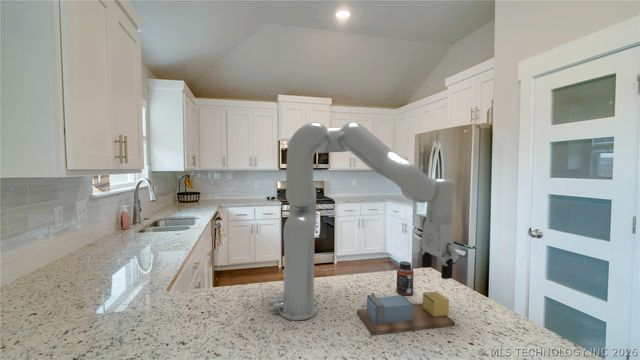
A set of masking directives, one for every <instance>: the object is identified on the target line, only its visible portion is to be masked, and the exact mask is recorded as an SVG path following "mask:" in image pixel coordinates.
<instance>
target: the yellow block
mask: <svg viewBox="0 0 640 360" xmlns="http://www.w3.org/2000/svg"><path fill="white" fill-rule="evenodd" d="M449 301H450V299H448V298H447V297H446V296H444V295H443V294H441V293H440V292H438V291H427V292H423V293H422V303H423V308H424V309H425V310H426V311H428V312H429V313H430V314H431V315H432V316H434V317H436V316H446V315H447V316H449V307H450V305H449V304H450V302H449Z"/></svg>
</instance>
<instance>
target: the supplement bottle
mask: <svg viewBox="0 0 640 360" xmlns="http://www.w3.org/2000/svg"><path fill="white" fill-rule="evenodd" d="M414 274H415V273H414V269H413V268H412V263H411V262H409V261H406V260H405V261H403V260H402V261H400V262H399V267H397V269H396V292H397V293H398V294H399V295H403V296H411V295H413V294H414Z"/></svg>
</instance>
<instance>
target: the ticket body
mask: <svg viewBox="0 0 640 360" xmlns="http://www.w3.org/2000/svg"><path fill="white" fill-rule="evenodd" d="M413 304H414V303H412V302H411V301H410V300H409V299H408V298H407V297H405V295H402V294H399V295H391V296H390V295H389V296H379V297H377V296H376V295H375V294H367V298H366V309H367V315H368V316H369V318H370V319H371V320H372V322H373V323H374V324H376V325H377V326H380V325H384V323H392V322H401V321H411V320H412V318H413Z"/></svg>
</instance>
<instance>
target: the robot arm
mask: <svg viewBox="0 0 640 360" xmlns="http://www.w3.org/2000/svg"><path fill="white" fill-rule="evenodd" d="M286 150H287V152H286V153H287V154H286V171H285V172H286V173H285V174H286V175H285V177H286V179H285V182H286V184H285V185H286V186H285V198H286V201H287V202H288V204H289V216H288V217H287V219H286V220H285V223H284V226H283V232H282V233H283V248H284V250H283V252H284V253H283V255H284V256H283V257H284V259H283V261H284V263H283V264H284V269H283V277H284V278H283V293H282V294H281V296H279V297H277V298H268V304H269V305H268V306H272V307H273V309H278V313H279V315H280V317H283V318H284V319H287V320H289V321H290V320H291V321H304V320H309V319H312V318H313V317H314V316H316V315H317V314H318V312H319V305H318V303H317V302H316V301H314V299H315V298H314V295H315V293H314V292H315V291H314V288H315V287H314V285H315V282H314V281H315V230H316V227H317V189H316V185H315V184H314V157H315V154H316V153H317V154H325V153H326V154H327V153H344V152H351V153H352V154H353V155H354V156H355V157H356V158H358V159H359V160H360V161H361V162H362V163H364V165H366V166H367V167H368V168H369V169H371V171H373V172H375V173H376V174H378V175H380V176H382V177H384V178H386V179H388V180H390V181H391V182H393V183H394V184H395V185H396V186H398V188H400V191H401V194H402V195H403V196H404V198H406V199H408V200H409V201H414V202H417V203H423V204H424V203H426V216H425V220H424V223H423V226H422V227H423V228H422V234H421V235H422V236H421V238H420V239H419V243H420V249H421V255H422V257H421V259H422V260H421V266H422V268H431V267H432V265H433V263H432V261H433V256H434V257H436V258H441V261H442V265H441V275H440V276H441V277H440V278H441V279H442V280H450V279H451V280H452V278H453V267H454V266H455V264H456V263H457V260H458V259H459V257H460V254H459V253H458V252H457V250H456V249H455V248H454V247H455V245H454V243H455V241H454V240H455V237H454V225H453V217H454V215H453V214H454V200H455V199H454V198H455V182H454V181H453V179H449V178H430V177H429V176H428V175H427V174H426V173H425V172H423V171H422V170H421V169H419V168H418V167H417V166H416V165H414V163H412V162H410V161H409V160H407V159H406V158H404V157H403V156H401V155H400V154H399V153H397V152H396V151H394V150H392V149H391V148H390V147H388V145H386V144H385V143H384V142H382V141H381V140H380V139H379V138H378V137H377V136H375V135H374V134H373V132H371V131H370V130H369V129H367V128H366V127H365V126H363V125H362V124H360V123H359V122H356V121H349V122H347V123H346V124H345V125H343V126H342V127H332V128H330V127H329V128H327V127H326V126H325V124H322V123H321V122H314V121H313V122H309V123H306V124H304V125H302V126H301V127H300V128H298V129H297V130H296V131H294V133H293V135H292V136H291V138H290V140H289V141H288V145H287V149H286Z"/></svg>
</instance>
